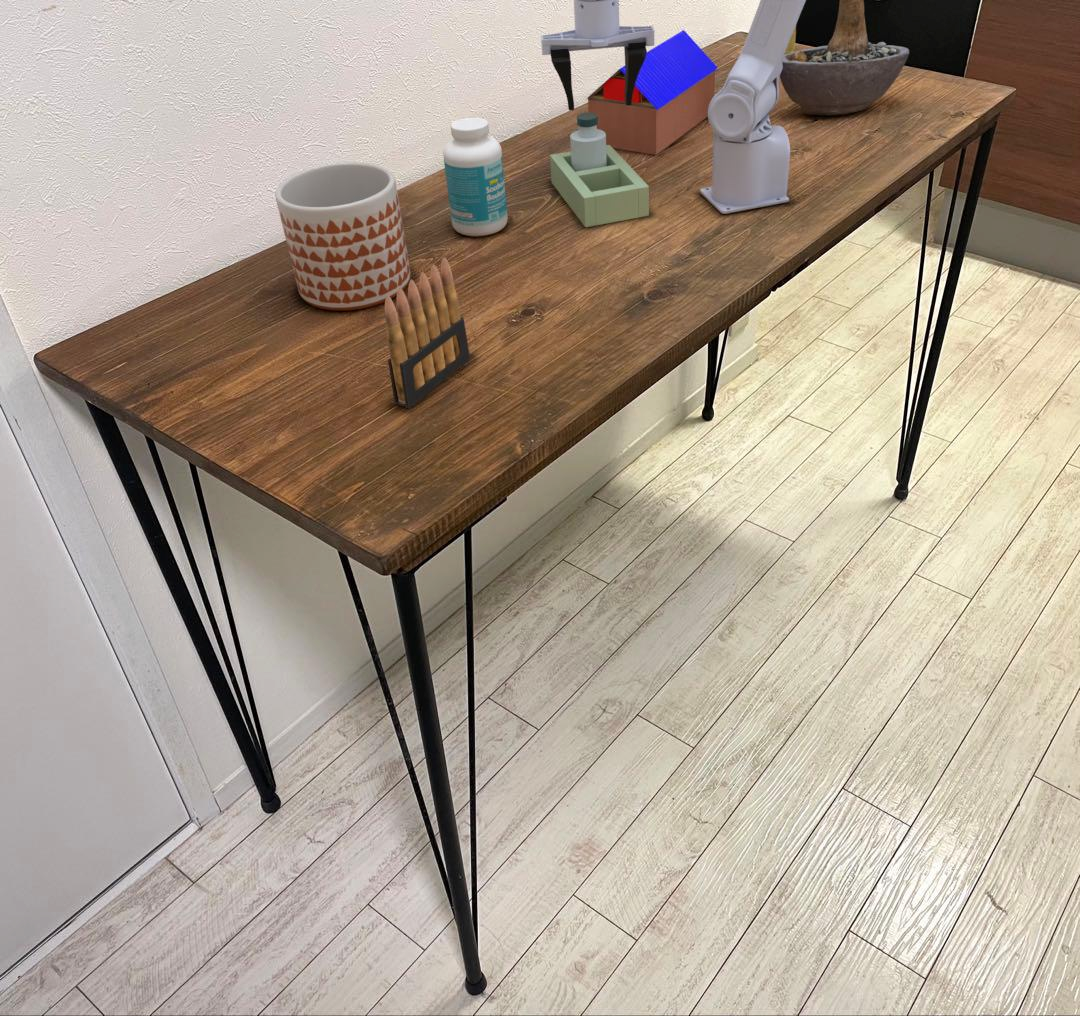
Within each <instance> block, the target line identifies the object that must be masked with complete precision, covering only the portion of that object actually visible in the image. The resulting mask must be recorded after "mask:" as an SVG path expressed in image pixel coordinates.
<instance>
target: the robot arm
mask: <svg viewBox="0 0 1080 1016" xmlns="http://www.w3.org/2000/svg"><path fill="white" fill-rule="evenodd" d="M806 1H807V0H760V1H759V3H758V6H757V9H756V11H755V14H754V17H753V20H752V22H751V25H750V28H749V30H748V33H747V36H746V39H745V41H744V44H743V47H742V48H741V52H740V54H739V56H738V58H737V59H736V61H735V63H734V64H733V66H732V68H731V70H730V72H729V73H728V75H727V78H726V79H725V83H724V85H723V87H722V88H721V89H720V90H719V91H718V92H716V94H714V97H713V98H712V100H711V102H710V104H709V108H708V117H707V120H708V123H709V125H710V127H711V129H712V130H713V137H712V138H713V139H712V164H711V166H712V167H711V186H708V187H703V188H700V189H699V193H700V194H701V195H702V196H703V197H704V198H705V199H706V200H707V201H708V202H709V203H710V204H711V205H712V206H713V207H714V208H715V209H716V210H718V211H719V212H720V213H721V214H723V215H725V214H726V215H727V214H732V213H738V212H742V211H743V212H744V211H747V210H748V211H749V210H752V209H758V208H765V207H769V206H774V205H780V204H786V203H789V202H790V198H789V197H788V186H789V185H788V184H789V173H790V172H789V171H790V160H791V144H790V139H789V136H788V133H787V131H786V130H785V128H784V127H783V126H781V125H772V123H771V120H770V117H769V116H770V113H771V112H772V111H773V110H774V108H776V105H777V104H778V101H779V96H780V89H779V88H780V86H779V82H780V81H779V80H780V74H781V71H782V69H783V65H782V58H783V56H784V53H785V51H786V48H787V46H788V43H789V41H790V38H791V36H792V33H793V31H794V28H795V26H796V27H797V24H798V21H799V18H800V16H801V14H802V11H803V9H804V6H805V4H806ZM573 14H574V15H573V16H574V17H573V19H574V29H571V30H566V31H562V32H556V33H551V34H541V35H540V40H541V41H540V43H541V54H542V56H548V55H550V59H551V63H552V65H553V68H554V69H555V71H556V73H557V75H558V77H559V80H560V82H561V85H562V87H563V90H564V92H565V96H566V100H567V108H568V111H575V99H574V93H573V84H572V83H573V82H572V59H571V53H570V52H577V51H578V52H579V51H587V50H588V51H589V50H600V49H613V48H623V50H624V66H625V103H626V106H628V105H632V96H633V91H634V87H635V83H636V80H637V77H638V74H639V72H640V69H641V67H642V65H643V63H644V61H645V58H646V55H647V52H648V50H647V47H655V29H654V26H653V25H645V26H642V25H641V26H637V25H636V26H633V25H630V26H629V25H627V26H626V25H622V26H621V25H620V0H573Z"/></svg>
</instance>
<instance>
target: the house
mask: <svg viewBox="0 0 1080 1016" xmlns="http://www.w3.org/2000/svg"><path fill="white" fill-rule="evenodd" d="M718 68H719V67H718V66H717V65H716V63H714V62H713V60H712V59H711V58H710V57H709V56H708V55H707V54H706V53H705V51H703V49H702V48H701V47H700V46H699V45H698V44H697V43H696V41H694V39H693V38H692V37H691V36H690V35H689V34H688V33H687V32H686V30H685V29H683V30H681V31H679V32H678V33H676V34H675V35H673V36H671V37H669V38H668V39H666V40H665V41H663V42H661V43H659V44H658V45H656V46H654V47H653V48H651V49H650V50H647V55H646V58H645V61H644V63H643V65H642V67H641V69H640V72H639V74H638V77H637V80H636V83H635V87H634V91H633V96H632V105H628V106H626V103H625V65H624V66H622V67H620V68H619V69H618V70H617V71H615V72H614V73H612V75H611V76H610V77H609V78H608V79H606V80H605V81H604V82H603V83H602V84H601V85H600V86H599V87H597V88H596V89H595V90H594V91H593V92H592V93H591V94H589V96H587V98H585V100H587V106H588V108H587V109H588V113H595V114H597V115H598V124H597V129H599V130H602V131H604V132H605V133H606V145H610V146H611V147H612V148H613V149H617V150H623V151H629V152H636V153H642V154H648V155H653V156H657V155H658V154H660V153H662V151H664V150H665V149H666V148H668V147H669V146H670V145H672V144H673V143H674V142H676V141H677V140H679V139H680V138H681V137H682V136H683V135H685V134H686V133H688V132H689V131H690V130H692V129H694V128H695V127H696V126H697V125H698V124H700V123H701V122H703V121H704V120H705V119H707V118H708V108H709V104H710V102H711V100H712V98H713V97H714V96H715V88H716V87H715V84H716V83H715V82H716V72H717V70H718Z"/></svg>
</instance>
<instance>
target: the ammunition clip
mask: <svg viewBox="0 0 1080 1016" xmlns="http://www.w3.org/2000/svg"><path fill="white" fill-rule="evenodd" d="M440 263H441V264H440V271H439V270H438V268H437V266H436V265H435V264H433V263H432V265H431V267H430V272H429V273H430V274H429V279H428V277H427V275H426V273H425V272H424V271H421V272H420V275H419V282H418V284H419V285H418V287H419V289H418V287H417V285H416V283H415V281H414V280H413V279H410V281H409V283H408V290H407V296H408V297H407V296H406V294H405V291H404V290H402V289H401V288H398V291H397V295H396V306H395V303H394V301H393V300H392V298H390V297H389V296H386V300H385V302H384V318H385V326H386V339H387V340H386V341H387V346H388V347H387V348H388V352H389V357H390V358H389V359H387V363H388V364H387V365H388V370H389V374H390V375H389V376H390V382H391V389H392V395H393V400H394V404H395V405H397V406H400V407H403V408H407V409H411V408H413V406H415V404H417V403H418V402H419V401H421V400H422V399H423V398H424V397H425V396H427V395H428V394H429V393H430V392H432V391H433V390H434V389H436V388H437V387H438V386H439V385H441V384H442V383H443V382H444V381H445V380H446V379H448V378H449V377H450V376H451V375H453V374H454V373H456V372H457V371H458V370H459V369H460V368H461V367H463V366H464V365H465V364H466V363H468V362H469V361H470V360H471V354H470V349H469V348H470V347H469V341H468V336H467V331H466V323H465V318H464V317H463V316H461V312H460V303H459V296H458V293H457V291H456V287H455V282H454V277H453V274H452V273H453V272H452V268H451V266H450V263H449V261H448V260H447V258H446V257H445V256H443V257H442V259H441V262H440Z"/></svg>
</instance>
